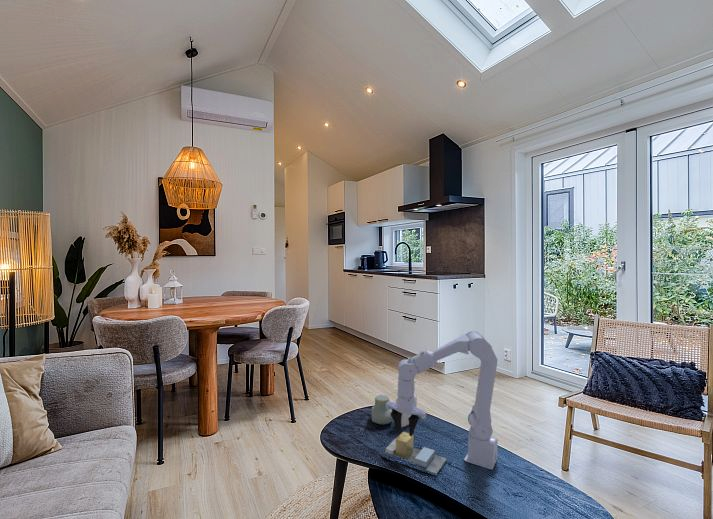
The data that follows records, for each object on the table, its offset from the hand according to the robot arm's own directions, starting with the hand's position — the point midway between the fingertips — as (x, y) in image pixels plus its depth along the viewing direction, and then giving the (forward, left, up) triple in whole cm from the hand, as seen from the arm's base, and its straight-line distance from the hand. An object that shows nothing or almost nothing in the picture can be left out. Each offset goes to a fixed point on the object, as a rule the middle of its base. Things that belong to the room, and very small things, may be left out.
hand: (405, 433), depth 138 cm
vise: (-3, 0, -8) cm, 9 cm away
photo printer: (+9, -22, -9) cm, 25 cm away
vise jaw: (-7, 0, -7) cm, 10 cm away
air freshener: (+18, -18, -9) cm, 27 cm away
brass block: (0, 0, -7) cm, 7 cm away
